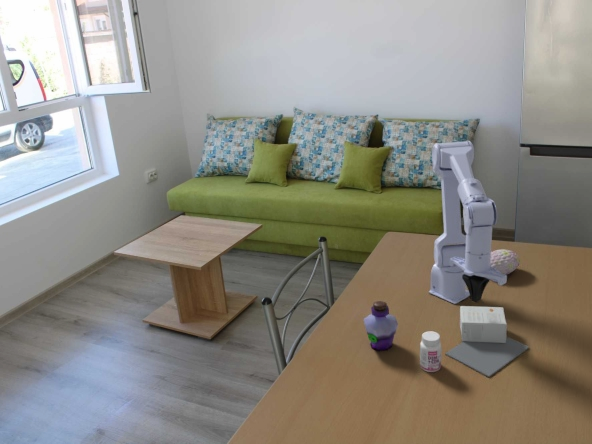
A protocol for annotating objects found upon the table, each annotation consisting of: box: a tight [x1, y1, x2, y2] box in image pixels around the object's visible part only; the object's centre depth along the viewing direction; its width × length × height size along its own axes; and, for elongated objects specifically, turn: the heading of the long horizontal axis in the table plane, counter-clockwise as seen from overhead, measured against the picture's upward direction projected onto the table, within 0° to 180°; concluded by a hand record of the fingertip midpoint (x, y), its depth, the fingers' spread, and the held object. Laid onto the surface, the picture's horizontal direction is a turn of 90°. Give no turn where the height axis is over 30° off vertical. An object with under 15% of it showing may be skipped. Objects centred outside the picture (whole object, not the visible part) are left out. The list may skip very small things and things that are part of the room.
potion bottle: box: [363, 300, 399, 352], centre depth 136 cm, size 9×9×12 cm
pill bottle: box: [419, 330, 442, 373], centre depth 127 cm, size 5×5×8 cm
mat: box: [444, 336, 530, 378], centre depth 132 cm, size 12×16×1 cm
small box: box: [459, 305, 508, 343], centre depth 137 cm, size 8×6×10 cm
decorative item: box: [490, 248, 521, 275], centre depth 166 cm, size 9×11×10 cm
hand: (475, 300), depth 134 cm, fingers closed
